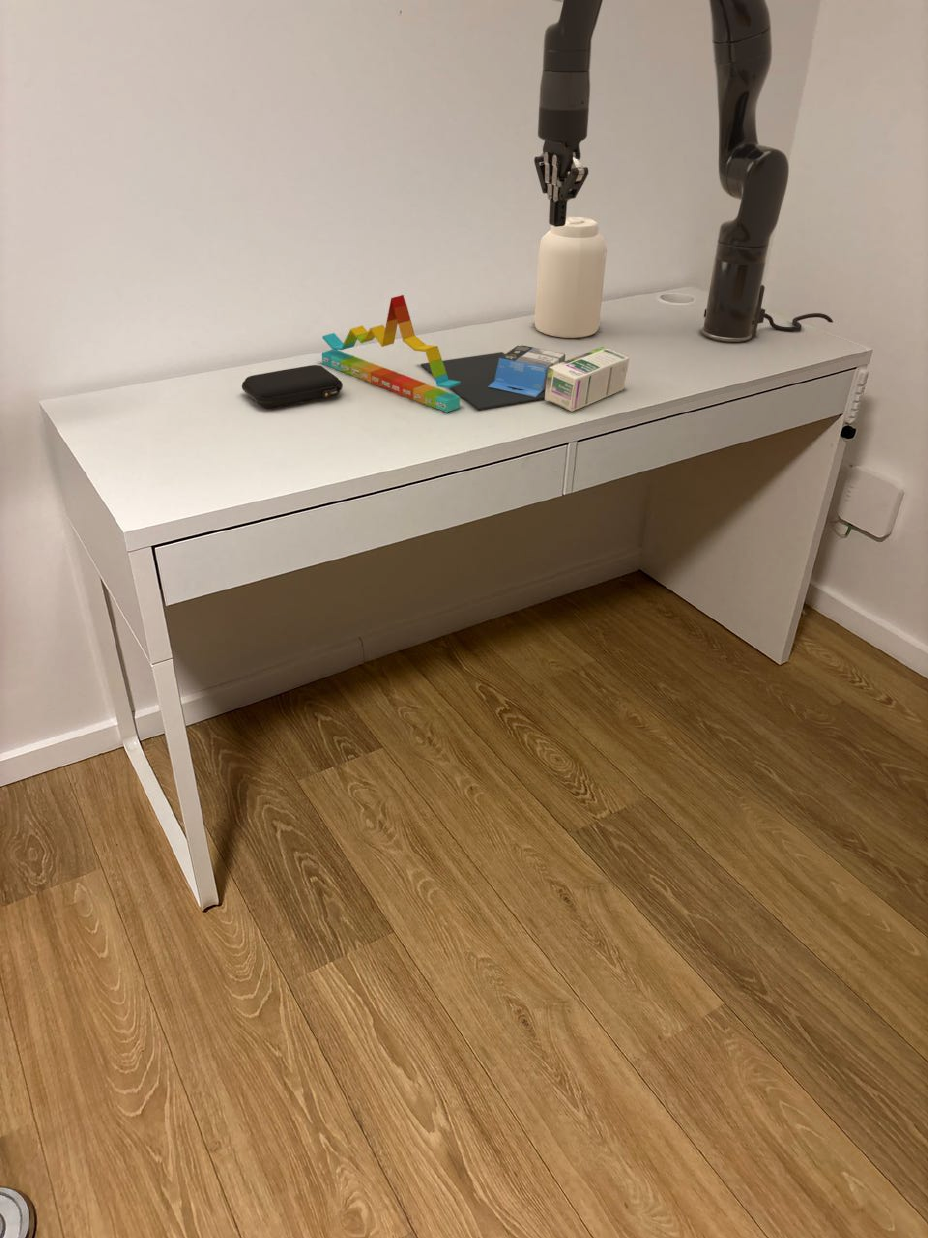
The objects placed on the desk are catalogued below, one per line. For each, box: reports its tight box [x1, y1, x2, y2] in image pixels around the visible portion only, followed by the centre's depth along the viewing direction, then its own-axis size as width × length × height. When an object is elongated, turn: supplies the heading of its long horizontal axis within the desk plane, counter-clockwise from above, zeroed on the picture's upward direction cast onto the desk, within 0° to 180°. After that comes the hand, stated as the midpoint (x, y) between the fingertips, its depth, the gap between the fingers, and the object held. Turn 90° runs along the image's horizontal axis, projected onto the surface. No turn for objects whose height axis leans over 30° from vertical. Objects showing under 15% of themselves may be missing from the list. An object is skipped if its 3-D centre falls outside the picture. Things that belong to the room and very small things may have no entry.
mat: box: [420, 351, 546, 411], centre depth 164 cm, size 16×22×1 cm
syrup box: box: [544, 346, 630, 413], centre depth 157 cm, size 6×6×14 cm
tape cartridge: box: [488, 344, 566, 397], centre depth 162 cm, size 9×4×12 cm
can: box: [534, 215, 608, 339], centre depth 182 cm, size 12×12×20 cm
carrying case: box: [241, 364, 344, 409], centre depth 155 cm, size 11×3×15 cm
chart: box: [321, 294, 461, 414], centre depth 157 cm, size 30×3×15 cm, turn 46°
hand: (557, 225), depth 156 cm, fingers closed
